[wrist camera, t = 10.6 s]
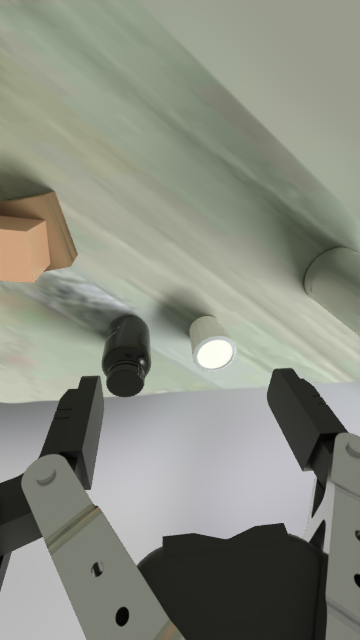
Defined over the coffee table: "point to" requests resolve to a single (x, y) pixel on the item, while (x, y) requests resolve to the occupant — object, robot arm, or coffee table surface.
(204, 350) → the white cylinder
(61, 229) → the walnut box
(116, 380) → the supplement bottle
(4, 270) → the tan block
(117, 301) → the coffee table surface
